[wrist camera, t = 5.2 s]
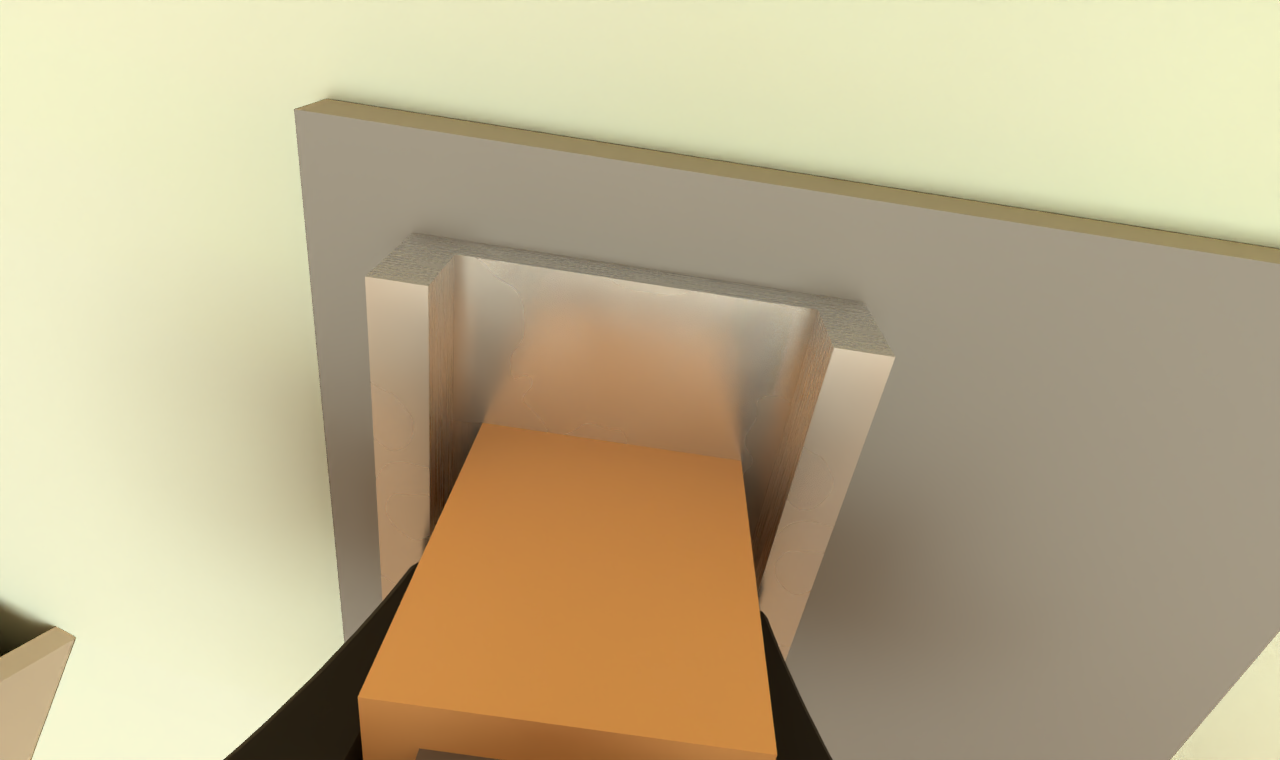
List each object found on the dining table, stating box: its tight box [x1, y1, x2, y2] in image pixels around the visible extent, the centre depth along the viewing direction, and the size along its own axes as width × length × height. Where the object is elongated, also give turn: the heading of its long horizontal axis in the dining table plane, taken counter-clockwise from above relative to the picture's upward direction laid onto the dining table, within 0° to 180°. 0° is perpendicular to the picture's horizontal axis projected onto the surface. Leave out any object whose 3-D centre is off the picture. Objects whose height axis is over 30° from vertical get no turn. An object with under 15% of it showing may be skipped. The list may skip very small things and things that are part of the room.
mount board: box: [294, 99, 1280, 760], centre depth 14 cm, size 14×18×1 cm
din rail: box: [365, 233, 895, 660], centre depth 12 cm, size 11×7×2 cm, turn 172°
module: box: [358, 423, 777, 760], centre depth 10 cm, size 5×4×5 cm
